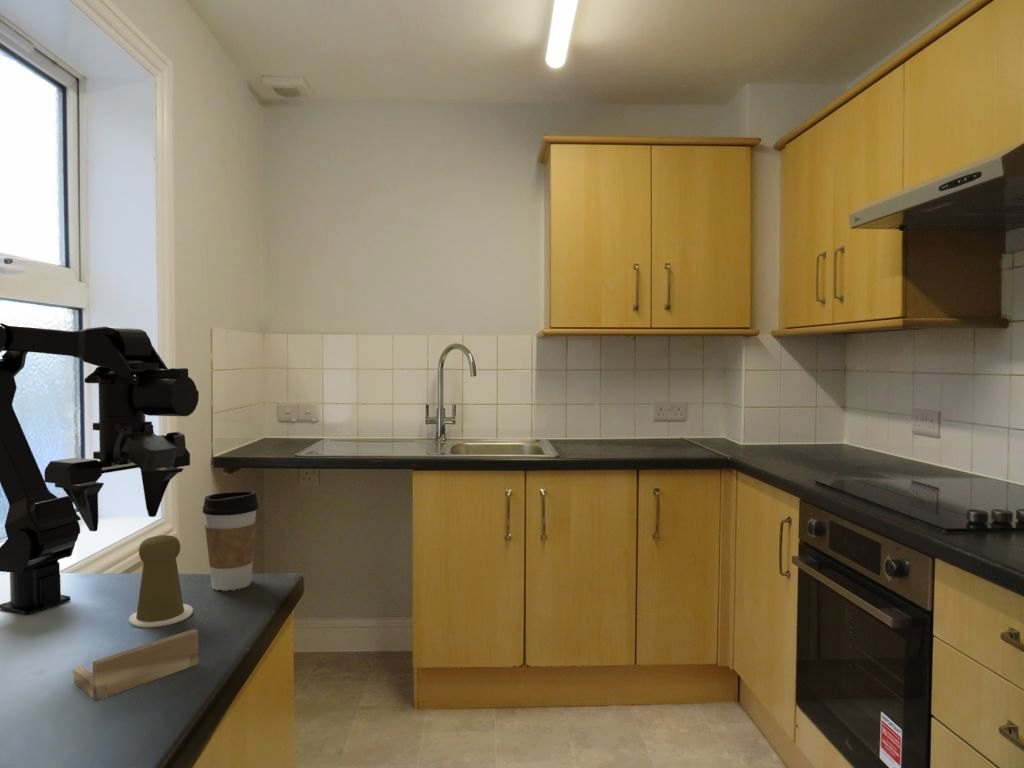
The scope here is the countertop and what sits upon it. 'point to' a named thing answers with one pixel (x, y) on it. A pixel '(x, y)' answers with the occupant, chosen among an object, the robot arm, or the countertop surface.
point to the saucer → (187, 613)
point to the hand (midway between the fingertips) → (124, 523)
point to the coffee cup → (230, 538)
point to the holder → (138, 665)
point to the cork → (159, 580)
